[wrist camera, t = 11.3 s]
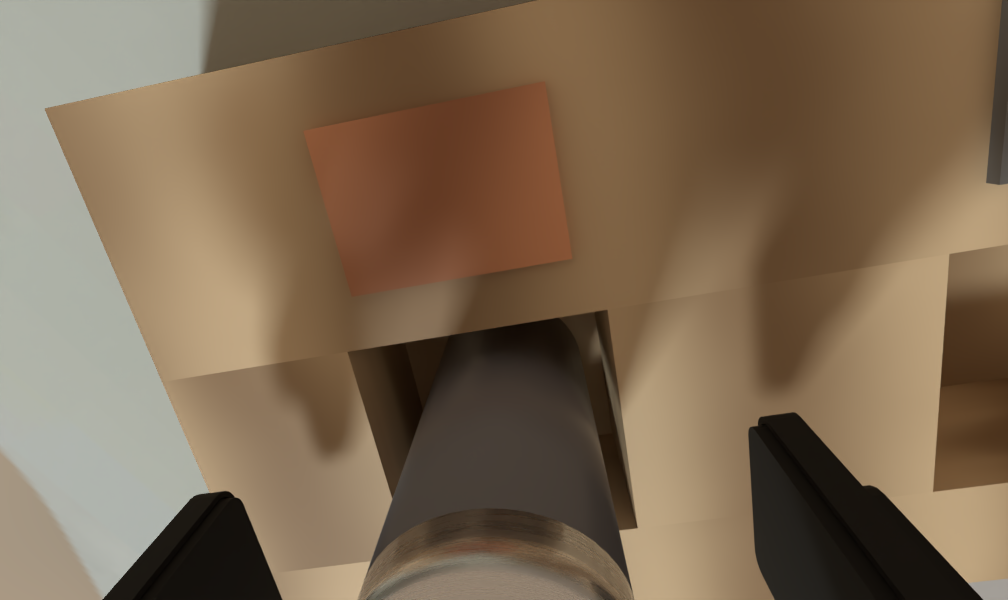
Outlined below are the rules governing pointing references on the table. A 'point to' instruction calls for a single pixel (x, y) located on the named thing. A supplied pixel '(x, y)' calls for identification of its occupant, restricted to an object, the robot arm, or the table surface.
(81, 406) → the table surface
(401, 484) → the plug
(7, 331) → the table surface
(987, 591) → the rubber mat
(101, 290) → the table surface
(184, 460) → the table surface
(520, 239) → the socket block
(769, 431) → the robot arm
